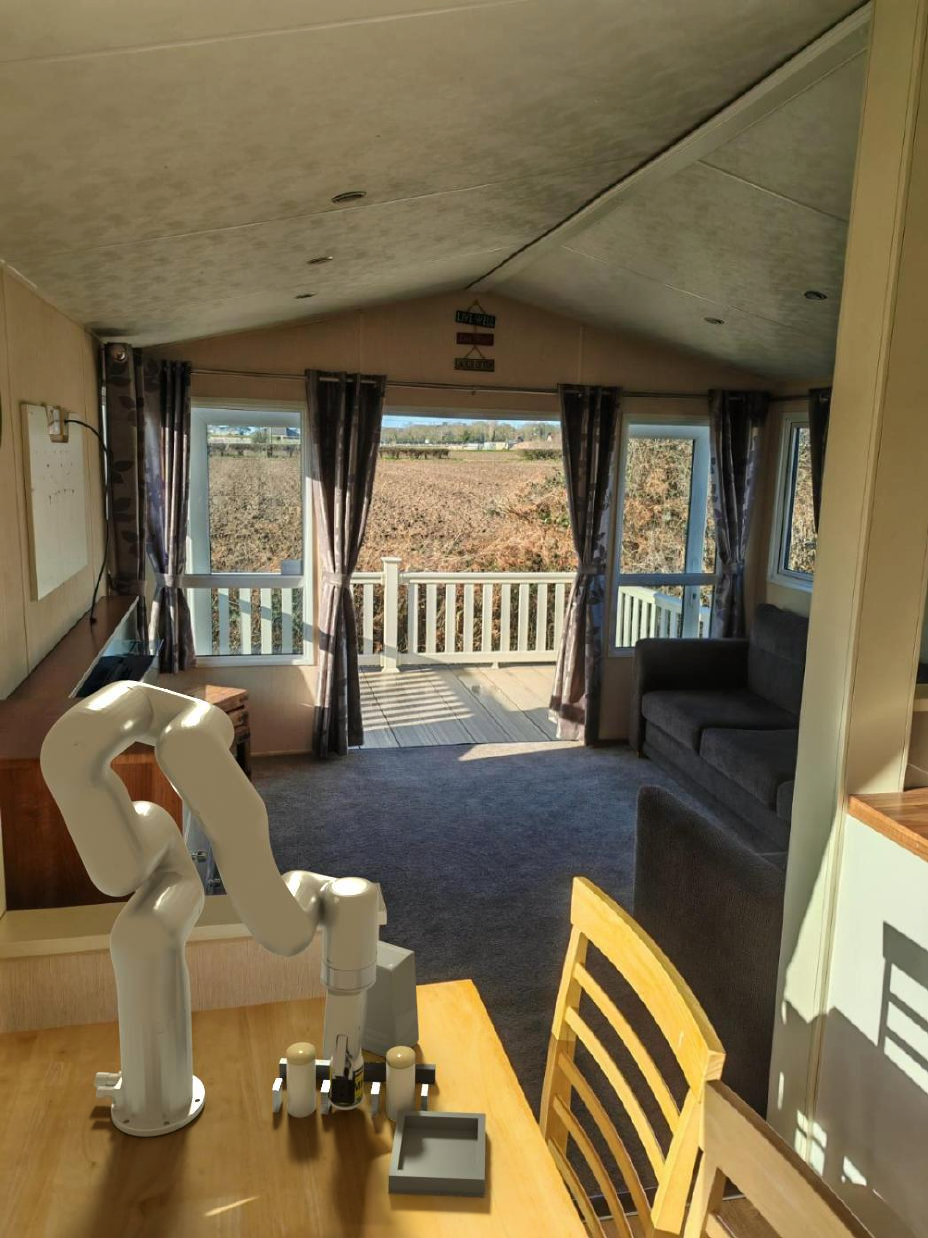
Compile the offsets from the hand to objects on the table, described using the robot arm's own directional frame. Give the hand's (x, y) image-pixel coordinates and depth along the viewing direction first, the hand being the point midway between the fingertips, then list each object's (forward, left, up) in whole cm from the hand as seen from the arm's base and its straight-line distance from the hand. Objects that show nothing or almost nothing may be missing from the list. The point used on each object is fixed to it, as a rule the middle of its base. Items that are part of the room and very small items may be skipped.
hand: (346, 1087), depth 132 cm
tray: (+14, -9, -3) cm, 17 cm away
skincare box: (+4, +15, -4) cm, 16 cm away
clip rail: (+1, +3, -3) cm, 5 cm away
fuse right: (+8, 0, -3) cm, 8 cm away
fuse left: (-6, 0, -3) cm, 7 cm away
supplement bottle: (0, 0, -2) cm, 2 cm away
